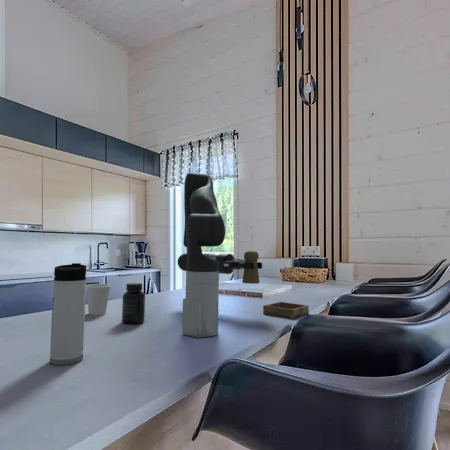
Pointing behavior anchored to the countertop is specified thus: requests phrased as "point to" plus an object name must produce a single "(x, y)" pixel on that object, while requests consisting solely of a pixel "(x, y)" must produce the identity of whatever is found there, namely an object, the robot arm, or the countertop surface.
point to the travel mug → (68, 314)
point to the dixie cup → (97, 298)
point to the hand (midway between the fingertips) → (257, 265)
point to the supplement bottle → (133, 304)
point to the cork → (251, 274)
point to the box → (286, 310)
